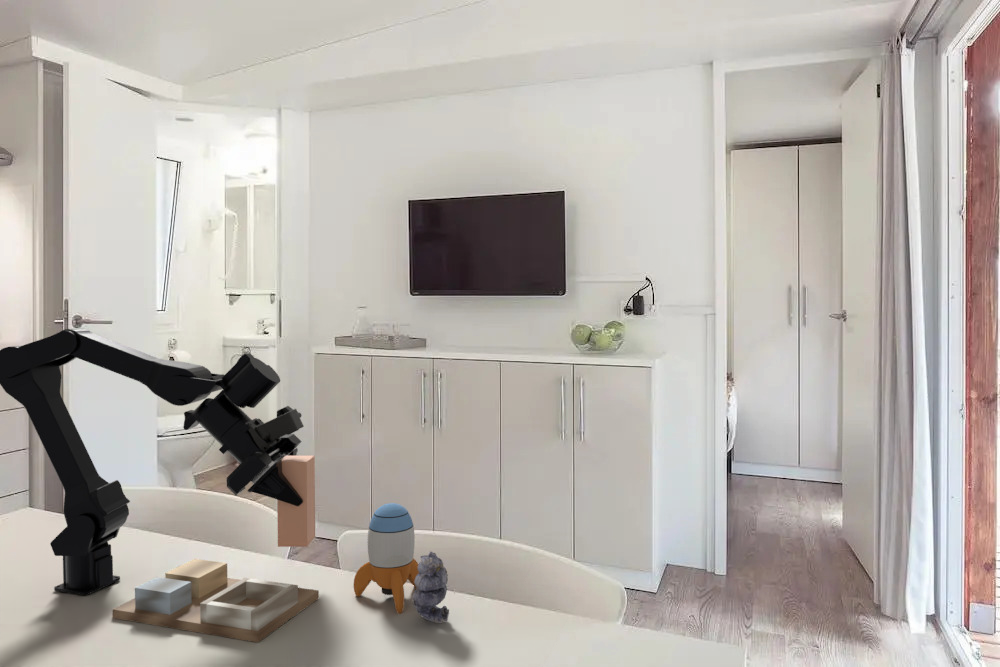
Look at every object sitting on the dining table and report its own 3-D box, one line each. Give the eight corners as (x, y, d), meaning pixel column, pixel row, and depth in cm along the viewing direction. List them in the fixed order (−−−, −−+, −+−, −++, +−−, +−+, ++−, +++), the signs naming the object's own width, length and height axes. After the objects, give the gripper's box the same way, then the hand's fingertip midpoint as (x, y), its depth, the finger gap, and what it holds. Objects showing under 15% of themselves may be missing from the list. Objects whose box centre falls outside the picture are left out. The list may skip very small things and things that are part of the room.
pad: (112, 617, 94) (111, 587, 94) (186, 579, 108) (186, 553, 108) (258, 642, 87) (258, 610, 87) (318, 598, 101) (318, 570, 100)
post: (277, 546, 103) (277, 461, 103) (286, 536, 108) (286, 455, 107) (307, 546, 103) (306, 461, 103) (315, 536, 108) (314, 455, 107)
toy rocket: (416, 621, 95) (392, 522, 93) (346, 627, 97) (321, 530, 95) (435, 582, 105) (414, 491, 103) (371, 588, 107) (350, 500, 105)
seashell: (455, 617, 94) (455, 546, 94) (440, 635, 89) (439, 560, 89) (421, 612, 96) (420, 542, 96) (403, 629, 91) (403, 555, 90)
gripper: (247, 400, 95) (327, 477, 96) (288, 385, 114) (354, 450, 114) (192, 455, 95) (271, 533, 96) (241, 432, 114) (307, 497, 115)
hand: (305, 499), depth 105 cm, fingers closed on post, 4 cm apart
